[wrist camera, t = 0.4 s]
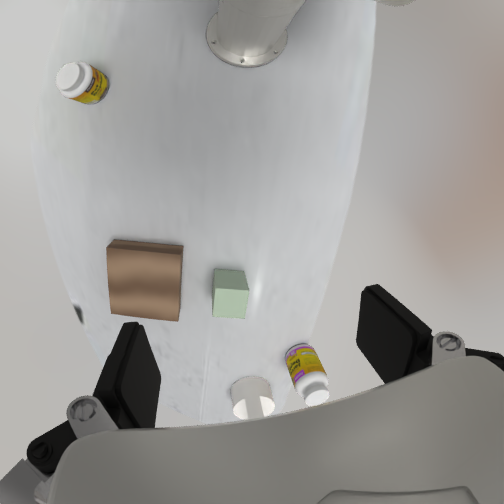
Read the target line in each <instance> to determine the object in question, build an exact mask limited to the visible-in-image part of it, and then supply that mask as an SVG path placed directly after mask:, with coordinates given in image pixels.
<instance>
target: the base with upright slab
mask: <svg viewBox="0 0 504 504" xmlns="http://www.w3.org/2000/svg"><path fill="white" fill-rule="evenodd" d="M231 397H232V405H233V412H234V414H235V415H236V416H237V417H238V418H241V419H244V420H248V419H254V418H260V417H266V416H268V415H269V414H271V413H272V412H273V410H274V408H275V403H274V400H273V396H272V392H271V389H270V385H269V383H268V381H267V380H265V379H264V378H261V377H255V376H252V377H245V378H242V379H240V380H238V381H237V382H235V383H234V384H233V385H232V387H231Z"/></svg>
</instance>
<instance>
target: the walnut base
mask: <svg viewBox="0 0 504 504" xmlns="http://www.w3.org/2000/svg"><path fill="white" fill-rule="evenodd" d="M106 251H107V273H108V287H109V298H110V308H111V314H118V315H125V316H133V317H141V318H149V319H158V320H167V321H177V322H178V320H179V313H180V299H181V277H182V259H183V246H177V245H166V244H156V243H145V242H135V241H124V240H113V241H112V242H111V243H110V244H109V245H108V246H107V247H106Z"/></svg>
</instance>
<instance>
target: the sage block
mask: <svg viewBox="0 0 504 504" xmlns="http://www.w3.org/2000/svg"><path fill="white" fill-rule="evenodd" d="M248 296H249V288H248V284H247V280H246V277H245V273H244V271H235V270H223V269H215V270H214V280H213V290H212V314H213V317H224V318H241V319H245V314H246V308H247V302H248Z"/></svg>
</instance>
